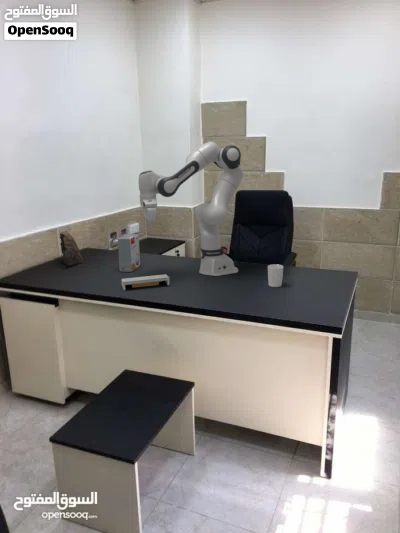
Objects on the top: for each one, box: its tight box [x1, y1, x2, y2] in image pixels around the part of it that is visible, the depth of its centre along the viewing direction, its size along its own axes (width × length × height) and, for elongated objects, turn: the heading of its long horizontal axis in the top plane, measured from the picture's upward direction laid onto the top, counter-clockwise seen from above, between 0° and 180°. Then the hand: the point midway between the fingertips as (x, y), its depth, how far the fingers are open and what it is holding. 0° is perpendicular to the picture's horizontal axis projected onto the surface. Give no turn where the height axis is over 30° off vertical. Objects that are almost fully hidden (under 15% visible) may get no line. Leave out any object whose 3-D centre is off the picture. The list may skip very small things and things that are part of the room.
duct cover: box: [121, 273, 170, 286], centre depth 219 cm, size 24×9×1 cm, turn 105°
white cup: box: [267, 263, 284, 288], centre depth 215 cm, size 8×8×10 cm
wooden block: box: [131, 281, 160, 289], centre depth 221 cm, size 14×3×2 cm, turn 104°
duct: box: [121, 280, 170, 291], centre depth 221 cm, size 24×8×3 cm, turn 105°
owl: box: [59, 230, 84, 266], centre depth 268 cm, size 13×13×20 cm
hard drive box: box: [117, 233, 141, 273], centre depth 251 cm, size 16×8×20 cm, turn 168°
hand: (150, 227), depth 229 cm, fingers closed
